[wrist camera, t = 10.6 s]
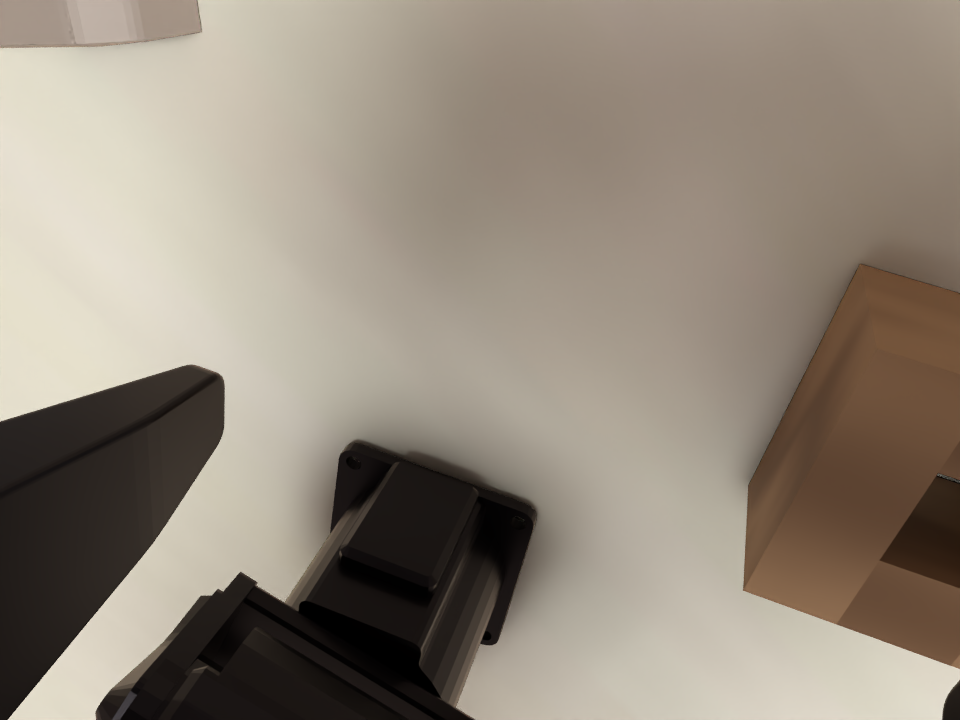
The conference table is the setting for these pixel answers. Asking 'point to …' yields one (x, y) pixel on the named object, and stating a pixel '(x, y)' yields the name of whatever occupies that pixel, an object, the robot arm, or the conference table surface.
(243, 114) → the conference table surface
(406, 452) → the conference table surface
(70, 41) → the hinge
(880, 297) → the pin block
